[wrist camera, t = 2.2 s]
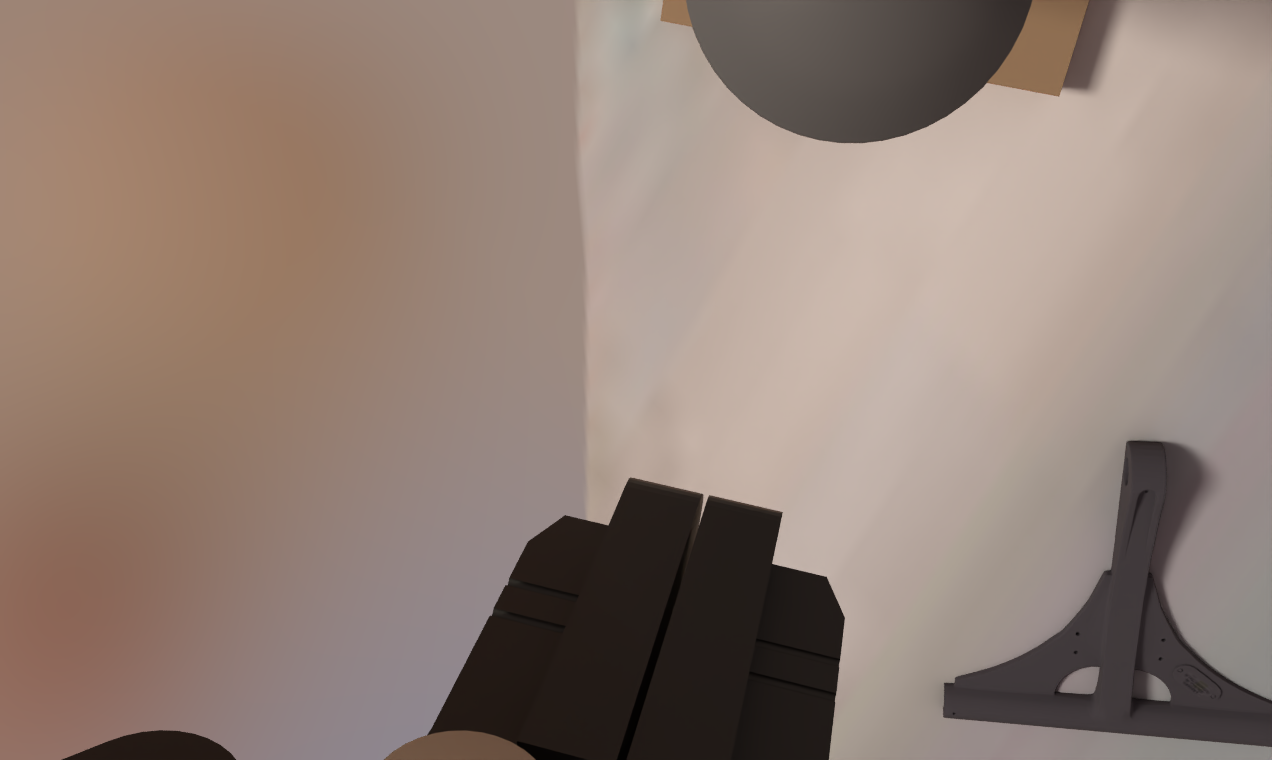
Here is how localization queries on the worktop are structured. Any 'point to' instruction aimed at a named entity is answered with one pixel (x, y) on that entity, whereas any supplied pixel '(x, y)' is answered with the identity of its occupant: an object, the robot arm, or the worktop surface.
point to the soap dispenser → (1033, 55)
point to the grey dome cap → (856, 59)
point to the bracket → (1119, 650)
